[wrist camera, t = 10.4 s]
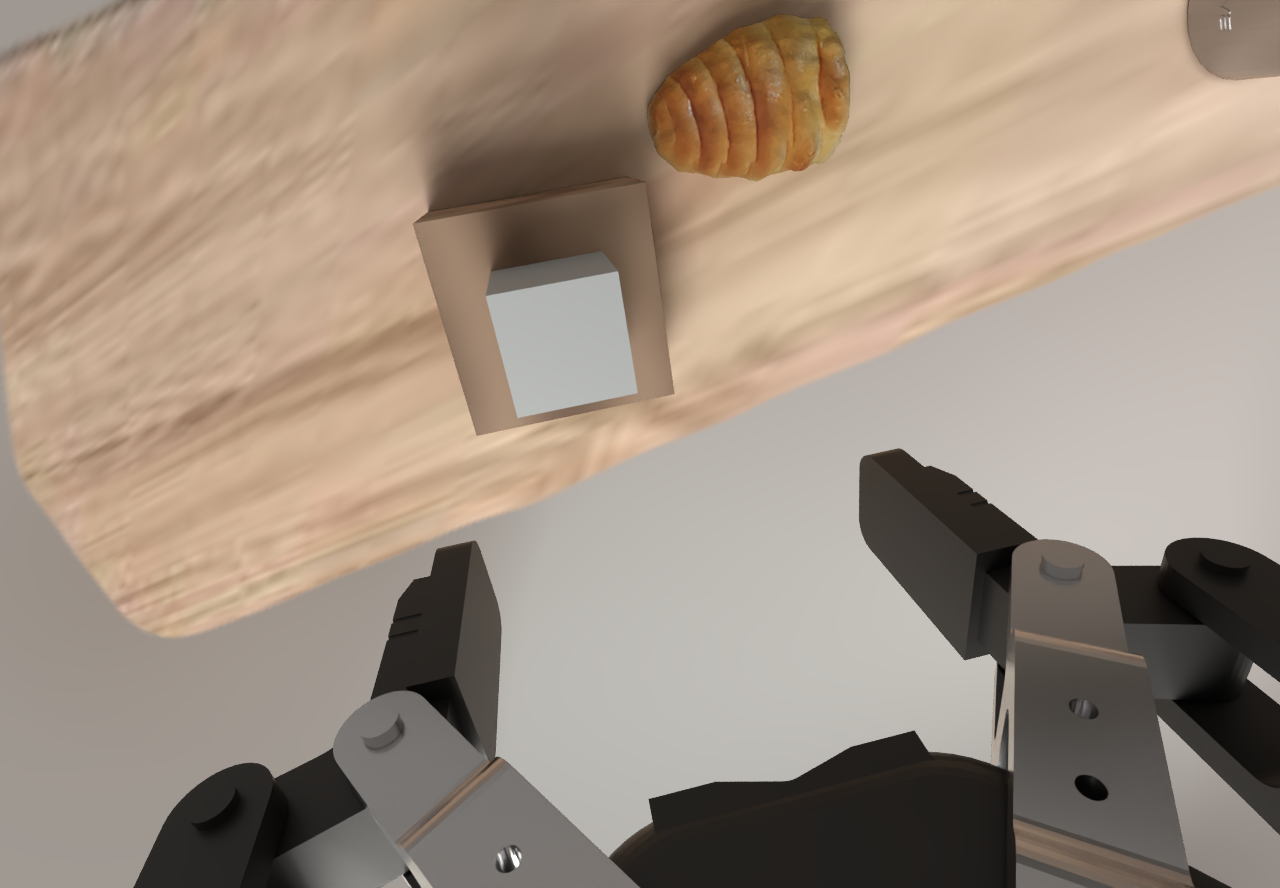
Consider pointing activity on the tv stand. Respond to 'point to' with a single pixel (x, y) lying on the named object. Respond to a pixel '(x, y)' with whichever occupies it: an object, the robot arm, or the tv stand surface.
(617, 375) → the grey cube
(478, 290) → the tan square block
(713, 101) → the pastry
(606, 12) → the tv stand surface
